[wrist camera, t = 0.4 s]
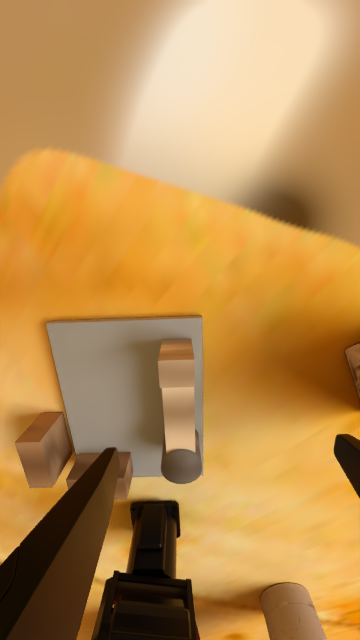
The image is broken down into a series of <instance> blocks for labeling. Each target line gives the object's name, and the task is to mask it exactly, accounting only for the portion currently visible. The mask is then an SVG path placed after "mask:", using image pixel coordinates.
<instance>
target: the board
mask: <svg viewBox="0 0 360 640" xmlns="http://www.w3.org/2000/svg"><path fill="white" fill-rule="evenodd" d="M46 327H47V332H48V336H49V340H50V345H51V349H52V353H53V357H54V362H55V366H56V370H57V375H58V379H59V383H60V388H61V392H62V396H63V401H64V405H65V409H66V414H67V418H68V422H69V427H70V431H71V435H72V440H73V444H74V448H75V453H76V457H77V458H78V456H79V454H80V453H102V452H103V451H104V450H105V449H106V448H108V447H116V448H117V450H118V452H131V457H132V465H133V475H132V477H159V476H163V474H162V472H161V460H162V449H163V439H164V433H165V426H164V412H163V398H162V388H160V383H159V370H158V358H159V353H160V349H161V344H162V340H163V339H191V340H192V346H193V353H194V359H195V387H194V405H195V429H196V430H197V432H198V435H199V443H200V452H201V461H202V472H201V474H200V475H203V336H202V316H201V315H197V316H169V317H141V318H113V319H85V320H56V321H50V322H48V323H46Z"/></svg>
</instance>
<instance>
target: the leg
mask: <svg viewBox="0 0 360 640" xmlns="http://www.w3.org/2000/svg"><path fill="white" fill-rule="evenodd" d="M158 370H159V383H160V388H162V398H163V412H164V426H165V433H164V439H163V449H162V460H161V472H162V474H163V476H164V477H165V478H166V479H167V480H169V481H170V482H173V483H177V484H186V483H190V482H192V481H194V480H196V479H197V478H198V477H199V476H200V474H201V472H202V461H201V452H200V443H199V435H198V432H197V430H196V429H195V405H194V387H195V359H194V353H193V346H192V340H191V339H163V340H162V344H161V349H160V353H159V358H158Z"/></svg>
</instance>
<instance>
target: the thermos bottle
mask: <svg viewBox="0 0 360 640" xmlns="http://www.w3.org/2000/svg"><path fill="white" fill-rule="evenodd" d="M261 604H262V608H263V612H264V616H265V620H266V625H267V629H268V633H269V637H270V640H327V638H326V636H325V633H324V631H323V628H322V626H321V623H320V620H319V618H318V615H317V613H316V610H315V608H314V605H313V603H312V600H311V597H310V595H309V592H308V591H307V589H306V588H305V587H303V586H301V585H299V584H294V583H282V584H277V585H274V586H271V587H269V588H268V589H266V590H265V591H264V592H263V594H262V595H261Z"/></svg>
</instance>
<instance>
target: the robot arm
mask: <svg viewBox="0 0 360 640" xmlns="http://www.w3.org/2000/svg"><path fill="white" fill-rule="evenodd" d="M334 454H335V457H336V459H337V460H338V462H339V464H340V465H341V467H342V469H343V471H344V472H345V474H346V476H347V478H348V479H349V481H350V483H351V484H352V486H353V488H354V490H355V491H356V493H357V495H358V496H359V498H360V440H358V439H356V438H355V437H353V436H351V435H349V434H338V435H337V436H336V439H335V445H334ZM119 469H120V461H119V455H118V450H117V448H116V447H108V448H106V449H105V450H104V451H103V452H102V453H101V454H100V455H99V456H98V457H97V459H96V460H95V461H94V462H93V463H92V464H91V465H90V466H89V467H88V469H87V470H86V471H85V472H84V473H83V474H82V475H81V476H80V477H79V479H78V480H77V481H76V482H75V483H74V484H73V485H72V486H71V488H70V489H69V490H68V491H67V492H66V493H65V494H64V495H63V496H62V498H61V499H60V500H59V501H58V502H57V503H56V504H55V505H54V506H53V508H52V509H51V510H50V511H49V512H48V513H47V514H46V515H45V516H44V518H43V519H42V520H41V521H40V522H39V523H38V524H37V525H36V527H35V528H34V529H33V530H32V531H31V532H30V533H29V534H28V535H27V537H26V538H25V539H24V540H23V541H22V542H21V543H20V546H18V547H17V548H16V549H15V550H14V551H13V552H12V553H11V554H10V555H9V556H8V558H7V559H6V560H5V561H4V562H3V563H2V564H1V565H0V640H76V639H77V635H78V632H79V628H80V625H81V621H82V617H83V614H84V610H85V607H86V603H87V599H88V596H89V592H90V589H91V585H92V581H93V578H94V574H95V570H96V567H97V563H98V560H99V556H100V552H101V549H102V545H103V542H104V538H105V534H106V531H107V527H108V524H109V520H110V516H111V511H112V506H113V501H114V495H115V490H116V485H117V479H118V474H119ZM130 512H131V518H132V525H133V536H132V542H131V547H130V553H129V559H128V565H127V570H126V573H121V572H119V571H115V570H114V574H113V577H111V578H109V579H107V580H106V583H105V588H104V592H103V596H102V600H101V605H100V608H99V612H98V616H97V620H96V624H95V628H94V631H93V635H92V639H91V640H197V635H196V625H195V614H194V604H193V594H192V584H191V579H186V580H182V579H176V538H178V537H180V517H179V504H178V503H177V502H153V503H132V504H131V507H130ZM113 604H115V605H114V608H112V607H113Z"/></svg>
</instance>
